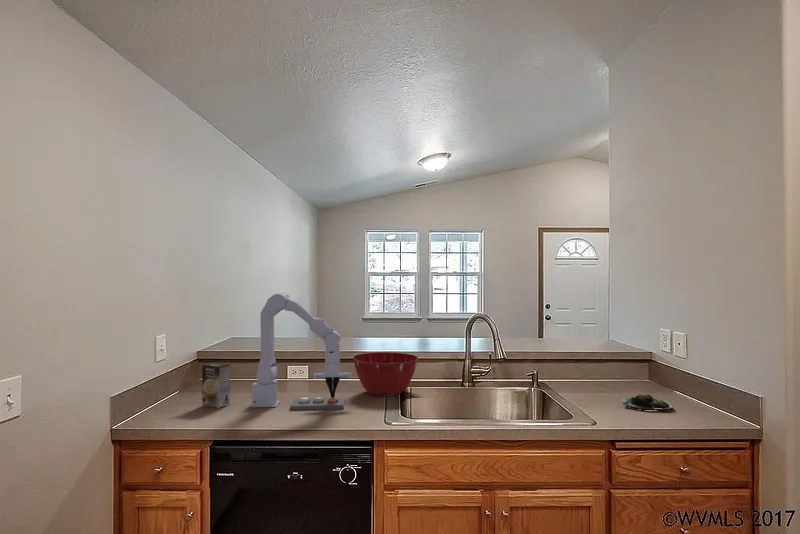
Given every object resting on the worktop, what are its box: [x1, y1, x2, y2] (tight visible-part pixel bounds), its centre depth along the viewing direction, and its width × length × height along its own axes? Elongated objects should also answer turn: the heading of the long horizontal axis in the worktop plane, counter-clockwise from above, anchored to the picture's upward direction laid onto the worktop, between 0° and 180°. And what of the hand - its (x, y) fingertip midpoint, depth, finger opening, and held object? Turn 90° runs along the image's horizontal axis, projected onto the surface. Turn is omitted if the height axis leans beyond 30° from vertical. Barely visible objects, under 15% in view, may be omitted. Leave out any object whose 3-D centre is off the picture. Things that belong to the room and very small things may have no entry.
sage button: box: [313, 396, 324, 403], centre depth 202 cm, size 3×3×2 cm
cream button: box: [299, 396, 309, 403], centre depth 201 cm, size 3×3×2 cm
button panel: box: [289, 397, 346, 411], centre depth 202 cm, size 20×12×2 cm, turn 94°
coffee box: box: [201, 362, 231, 409], centre depth 202 cm, size 9×6×16 cm
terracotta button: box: [328, 396, 338, 403], centre depth 202 cm, size 3×3×2 cm
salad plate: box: [622, 393, 674, 411], centre depth 201 cm, size 19×18×5 cm
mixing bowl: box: [352, 351, 419, 397], centre depth 223 cm, size 28×28×16 cm
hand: (332, 396), depth 202 cm, fingers closed
